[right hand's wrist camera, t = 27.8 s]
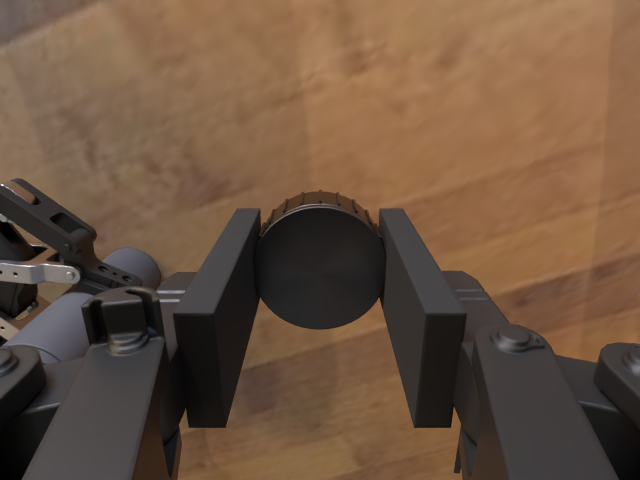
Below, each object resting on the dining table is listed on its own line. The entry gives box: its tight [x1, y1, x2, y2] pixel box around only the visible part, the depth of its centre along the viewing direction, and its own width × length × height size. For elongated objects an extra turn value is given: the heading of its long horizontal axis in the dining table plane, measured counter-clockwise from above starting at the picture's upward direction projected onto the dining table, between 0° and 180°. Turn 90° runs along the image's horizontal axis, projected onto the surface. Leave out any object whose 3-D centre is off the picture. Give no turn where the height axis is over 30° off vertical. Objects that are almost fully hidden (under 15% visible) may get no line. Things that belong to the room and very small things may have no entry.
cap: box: [253, 190, 386, 329], centre depth 13 cm, size 4×4×2 cm
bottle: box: [3, 248, 160, 365], centre depth 26 cm, size 5×5×18 cm
